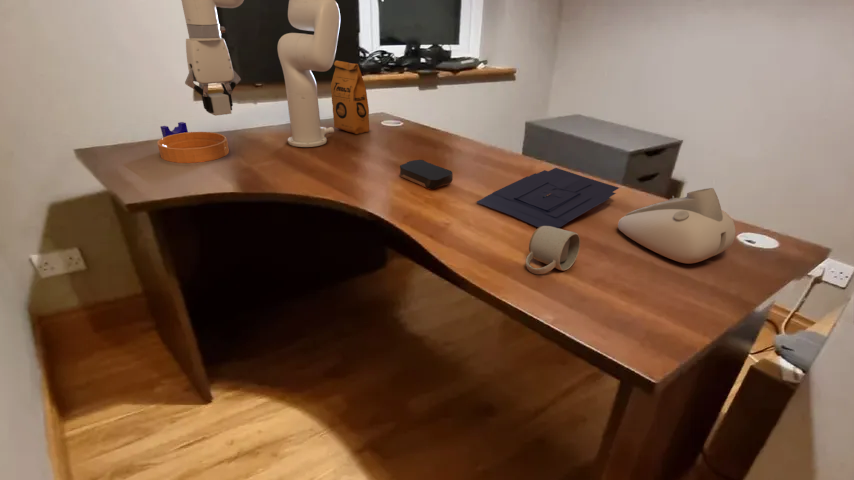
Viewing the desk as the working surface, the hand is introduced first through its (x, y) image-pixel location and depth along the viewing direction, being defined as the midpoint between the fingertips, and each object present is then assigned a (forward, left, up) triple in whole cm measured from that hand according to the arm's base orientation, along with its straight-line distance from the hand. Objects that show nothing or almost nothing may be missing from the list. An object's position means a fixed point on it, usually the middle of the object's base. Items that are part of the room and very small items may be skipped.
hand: (219, 110), depth 142 cm
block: (0, 0, -1) cm, 1 cm away
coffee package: (-53, -16, -16) cm, 58 cm away
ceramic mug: (-22, +95, -16) cm, 99 cm away
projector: (-50, +106, -16) cm, 119 cm away
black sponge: (-37, +41, -16) cm, 58 cm away
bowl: (+2, -20, -16) cm, 25 cm away
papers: (-50, +74, -16) cm, 91 cm away
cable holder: (-1, -44, -16) cm, 47 cm away
